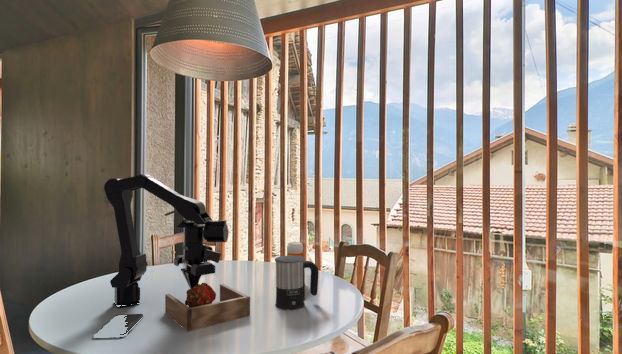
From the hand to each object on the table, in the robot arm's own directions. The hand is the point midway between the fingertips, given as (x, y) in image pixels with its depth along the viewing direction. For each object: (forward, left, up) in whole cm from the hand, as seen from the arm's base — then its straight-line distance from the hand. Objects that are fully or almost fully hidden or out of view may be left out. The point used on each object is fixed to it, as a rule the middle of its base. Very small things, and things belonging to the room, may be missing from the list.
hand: (193, 291), depth 121 cm
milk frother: (+26, -16, -4) cm, 31 cm away
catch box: (0, -10, -4) cm, 11 cm away
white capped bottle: (+40, +1, -4) cm, 40 cm away
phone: (-22, -5, -5) cm, 23 cm away
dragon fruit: (0, -5, -4) cm, 7 cm away
